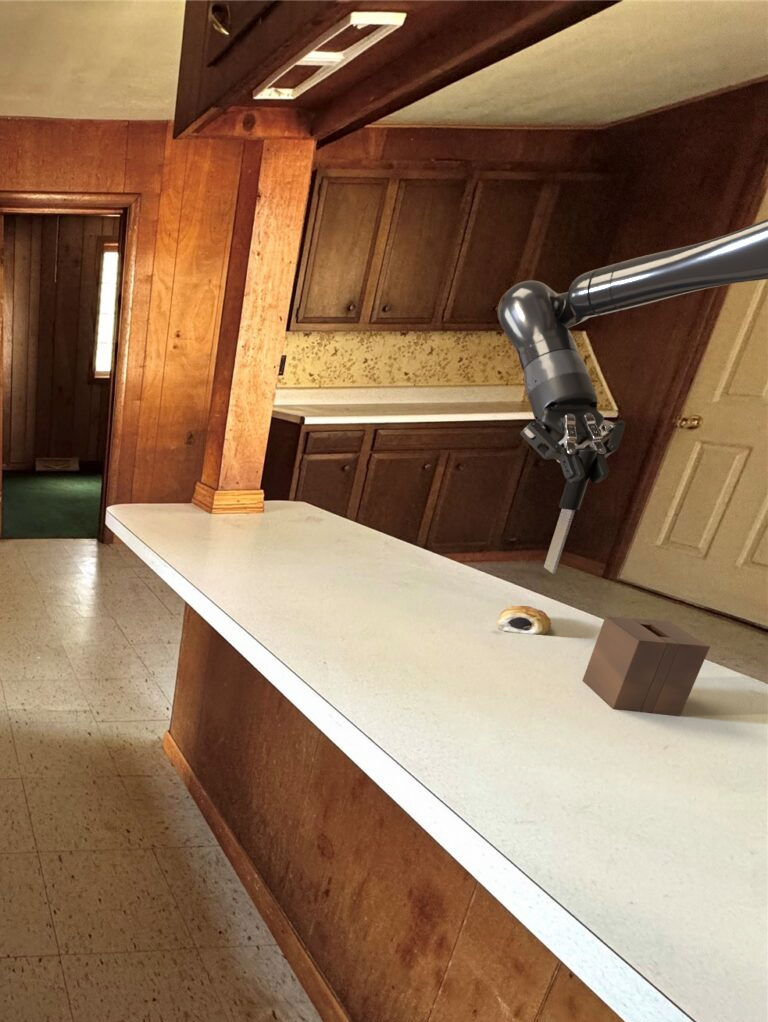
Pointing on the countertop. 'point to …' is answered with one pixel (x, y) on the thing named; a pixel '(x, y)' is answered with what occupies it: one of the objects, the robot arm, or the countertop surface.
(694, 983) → the countertop surface
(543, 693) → the countertop surface
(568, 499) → the knife
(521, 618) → the pastry
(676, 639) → the knife block
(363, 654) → the countertop surface
